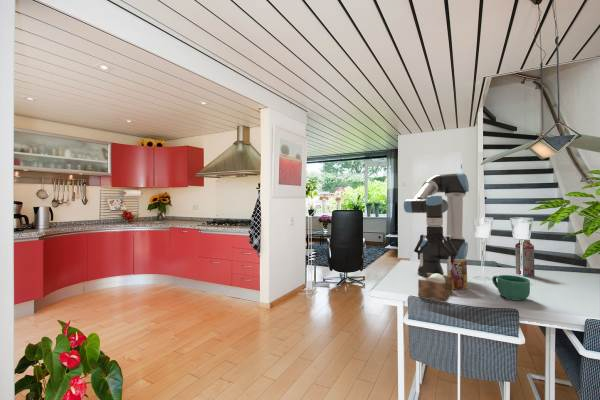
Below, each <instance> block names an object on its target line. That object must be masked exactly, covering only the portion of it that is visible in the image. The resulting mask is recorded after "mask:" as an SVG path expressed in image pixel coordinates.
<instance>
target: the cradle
mask: <svg viewBox="0 0 600 400" xmlns="http://www.w3.org/2000/svg"><path fill="white" fill-rule="evenodd" d="M431 275H432V274H431V273H427V277H426V279H427V278H429V277H430V276H431ZM442 276H443V277H444V278H445V280H446V284H445V283H442V282H435V281H428V280H426V279H421V278H419V279H417V285H418V287H417V289H418V294H417V295H418V297H420V298H427V299H432V300H437V301H438V300H439V301H444V302H445V301H446V300H447V299H448V297H450V295H451V294H452V292H453V289H452V276H447V274H446V275H445V274H444V275H442Z"/></svg>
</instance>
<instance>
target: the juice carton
mask: <svg viewBox="0 0 600 400" xmlns="http://www.w3.org/2000/svg"><path fill="white" fill-rule="evenodd" d="M520 240H521V239H519V240H518V243H516V244H515V245H514V246H515V275H518V274H519V276H521V275H520V274H521V271H520ZM523 240H524V242H523V276H522V277H535V245H533V244H532V242H531V240H530V239H523Z"/></svg>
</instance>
